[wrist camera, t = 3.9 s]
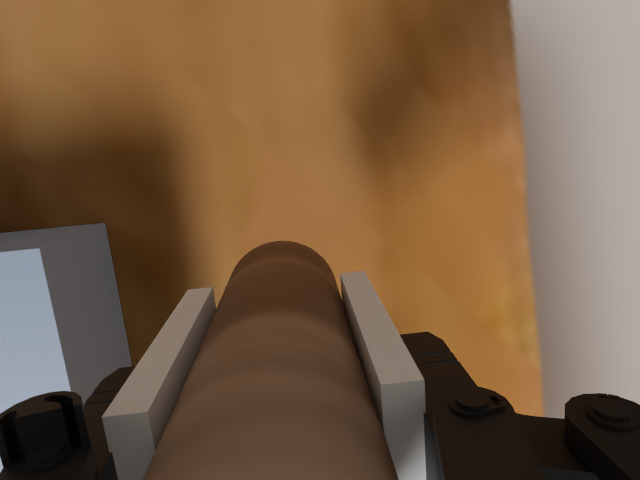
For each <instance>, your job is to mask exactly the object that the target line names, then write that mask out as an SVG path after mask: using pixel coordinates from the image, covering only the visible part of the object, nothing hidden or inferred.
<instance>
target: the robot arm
mask: <svg viewBox="0 0 640 480" xmlns="http://www.w3.org/2000/svg"><path fill="white" fill-rule="evenodd" d="M340 279H341V291H342V303H343V306H344V309H345V312H346V315H347V318H348V321H349V325H350V328H351V331H352V334H353V337H354V340H355V344H356V347H357V350H358V353H359V356H360V359H361V362H362V366H363V369H364V372H365V375H366V378H367V381H368V384H369V388H370V391H371V394H372V397H373V400H374V403H375V406H376V410H377V413H378V416H379V419H380V422H381V425H382V429H383V432H384V435H385V438H386V441H387V444H388V447H389V451H390V454H391V457H392V460H393V463H394V466H395V469H396V473H397V476H398V479H399V480H640V405H639V404H637V403H635V402H632V401H629V400H626V399H623V398H620V397H619V396H615V395H610V394H609V395H607V394H600V393H599V394H598V393H597V394H583V395H579V396H576V397H572V398H571V399H570V400H569V401H568V402H567V403H566V404H565V419H558V418H547V417H535V416H528V415H521V414H518V413H515V411H514V409H513V407H512V405H511V404H510V403H509V402H508V401H507V399H506V398H505V397H503V396H501V395H500V394H498V393H496V392H495V391H492V390H489V389H485V388H482V387H478V386H477V385H476V384H475V382H474V381H473V380H472V378H471V377H470V376H469V374H468V373H467V372H466V370H465V369H464V368H463V366H462V365H461V364H460V362H459V361H457V358H456V357H455V356H454V354H453V353H452V352H450V349H449V348H448V347H447V345H446V344H445V343H444V341H443V340H442V339H440V338H438V337H436V336H435V335H433V334H431V333H429V332H420V333H411V334H402V335H399V333H398V331H397V329H396V328H395V326H394V324H393V322H392V320H391V318H390V317H389V315H388V313H387V311H386V309H385V308H384V306H383V304H382V302H381V300H380V299H379V297H378V295H377V293H376V291H375V290H374V288H373V286H372V284H371V282H370V281H369V279H368V277H367V275H366V273H365V272H364V271H359V272H350V273H340ZM215 312H216V305H215V299H214V292H213V287H208V288H198V289H189V290H187V292H186V293H185V295H184V296H183V298H182V299H181V301H180V302H179V304H178V305H177V307H176V308H175V309H174V311H173V312H172V314H171V315H170V317H169V318H168V320H167V321H166V323H165V324H164V326H163V327H162V329H161V330H160V332H159V333H158V335H157V336H156V338H155V339H154V341H153V342H152V343H151V345H150V346H149V348H148V349H147V351H146V352H145V354H144V355H143V357H142V358H141V360H140V361H139V363H138V364H137V366H131V367H122V368H119V369H117V370H116V371H114V372H113V373H111V374H110V375H108V376H107V377H106V378H104V379H103V380H102V381H101V382H100V383H99V385H98V386H97V387H96V389H95V390H94V391H93V392H92V395H90V396H89V398H88V399H87V400H86V401H85V403H84V406H83V402H82V398H81V396H80V395H78V394H77V393H76V392H70V391H57V392H49V393H45V394H42V395H38V396H34V397H31V398H29V399H27V400H24V401H22V402H20V403H17V404H15V405H13V406H12V407H10V408H8V409H7V410H5V411H4V412H2V413H0V458H1V462H2V465H3V469H2V471H1V472H0V480H143V478H144V476H145V474H146V471H147V469H148V467H149V464H150V462H151V460H152V457H153V455H154V453H155V450H156V448H157V446H158V443H159V441H160V439H161V437H162V434H163V432H164V430H165V427H166V425H167V423H168V420H169V418H170V416H171V413H172V411H173V409H174V406H175V404H176V402H177V400H178V397H179V395H180V393H181V390H182V388H183V386H184V383H185V381H186V379H187V376H188V374H189V372H190V369H191V367H192V365H193V362H194V360H195V358H196V356H197V353H198V351H199V349H200V346H201V344H202V342H203V339H204V337H205V335H206V332H207V330H208V328H209V325H210V323H211V321H212V319H213V316H214V314H215Z"/></svg>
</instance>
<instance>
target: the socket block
mask: <svg viewBox="0 0 640 480" xmlns="http://www.w3.org/2000/svg"><path fill="white" fill-rule="evenodd" d="M131 366H132V362H131V357H130V351H129V346H128V341H127V335H126V330H125V325H124V319H123V314H122V309H121V304H120V298H119V293H118V288H117V282H116V277H115V272H114V267H113V261H112V256H111V251H110V245H109V240H108V235H107V230H106V224H105V223H96V224H86V225H76V226H66V227H56V228H45V229H35V230H25V231H15V232H5V233H0V413H2V412H4V411H5V410H7V409H8V408H10V407H12V406H13V405H15V404H17V403H20V402H22V401H24V400H27V399H29V398H31V397H34V396H38V395H42V394H45V393H49V392H57V391H70V392H76V393H77V394H78V395H80V396H81V398H82V402H83V406H84V403H85V401H86V400H87V399H88V398H89V396H90V395H92V392H93V391H94V390H95V389H96V387H97V386H98V385H99V383H100V382H101V381H102V380H103V379H104V378H106V377H107V376H108V375H110V374H111V373H113V372H114V371H116V370H117V369H119V368H122V367H131ZM2 469H3V465H2V462H1V458H0V472H1V471H2Z"/></svg>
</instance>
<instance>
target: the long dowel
mask: <svg viewBox="0 0 640 480" xmlns="http://www.w3.org/2000/svg"><path fill="white" fill-rule="evenodd" d="M143 480H399V479H398V476H397V473H396V469H395V466H394V463H393V460H392V457H391V454H390V451H389V447H388V444H387V441H386V438H385V435H384V432H383V429H382V425H381V422H380V419H379V416H378V413H377V410H376V406H375V403H374V400H373V397H372V394H371V391H370V388H369V384H368V381H367V378H366V375H365V372H364V369H363V366H362V362H361V359H360V356H359V353H358V350H357V347H356V344H355V340H354V337H353V334H352V331H351V328H350V325H349V321H348V318H347V315H346V312H345V309H344V306H343V303H342V299H341V296H340V293H339V290H338V287H337V284H336V281H335V277H334V274H333V272H332V270H331V268H330V267H329V265H328V263H327V262H326V261H325V260H324V259H323V257H321V256H320V255H319V254H318V253H317V252H315V251H314V250H313V249H311V248H309V247H307V246H305V245H302V244H299V243H295V242H290V241H275V242H270V243H266V244H263V245H261V246H258V247H256V248H255V249H253V250H251V251H250V252H248V253H247V254H246V255H245V256H244V257H243V258H242V259H241V260H240V261H239V262H238V264H237V265H236V267H235V269H234V270H233V272H232V275H231V277H230V279H229V281H228V284H227V286H226V288H225V291H224V293H223V295H222V298H221V300H220V302H219V305H218V307H217V309H216V312H215V314H214V316H213V319H212V321H211V323H210V325H209V328H208V330H207V332H206V335H205V337H204V339H203V342H202V344H201V346H200V349H199V351H198V353H197V356H196V358H195V360H194V362H193V365H192V367H191V369H190V372H189V374H188V376H187V379H186V381H185V383H184V386H183V388H182V390H181V393H180V395H179V397H178V400H177V402H176V404H175V406H174V409H173V411H172V413H171V416H170V418H169V420H168V423H167V425H166V427H165V430H164V432H163V434H162V437H161V439H160V441H159V443H158V446H157V448H156V450H155V453H154V455H153V457H152V460H151V462H150V464H149V467H148V469H147V471H146V474H145V476H144V478H143Z"/></svg>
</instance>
